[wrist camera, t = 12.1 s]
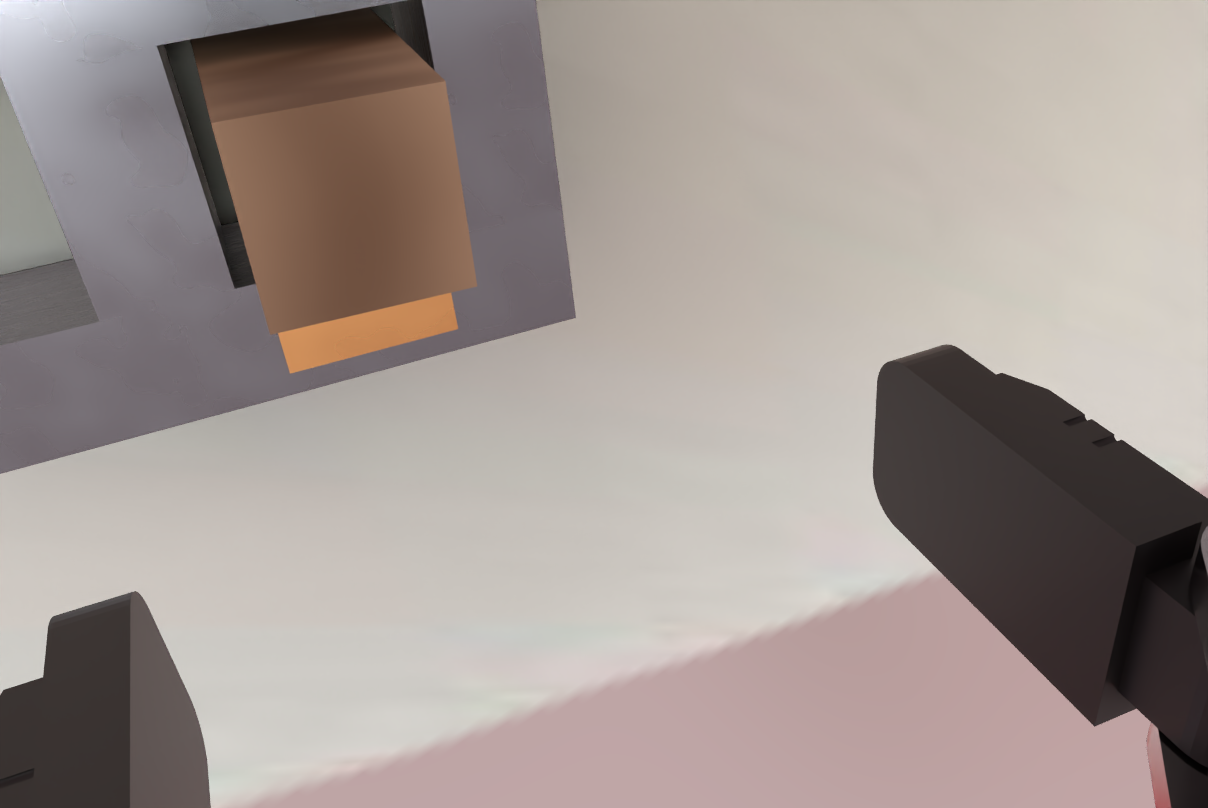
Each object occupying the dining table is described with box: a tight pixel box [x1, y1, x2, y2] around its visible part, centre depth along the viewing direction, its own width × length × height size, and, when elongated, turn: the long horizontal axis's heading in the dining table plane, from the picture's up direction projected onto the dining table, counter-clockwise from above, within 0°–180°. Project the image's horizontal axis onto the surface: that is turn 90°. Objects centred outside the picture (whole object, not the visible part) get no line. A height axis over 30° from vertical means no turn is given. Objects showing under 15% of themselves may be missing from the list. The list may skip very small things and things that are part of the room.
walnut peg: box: [190, 7, 477, 335], centre depth 22 cm, size 4×4×8 cm
